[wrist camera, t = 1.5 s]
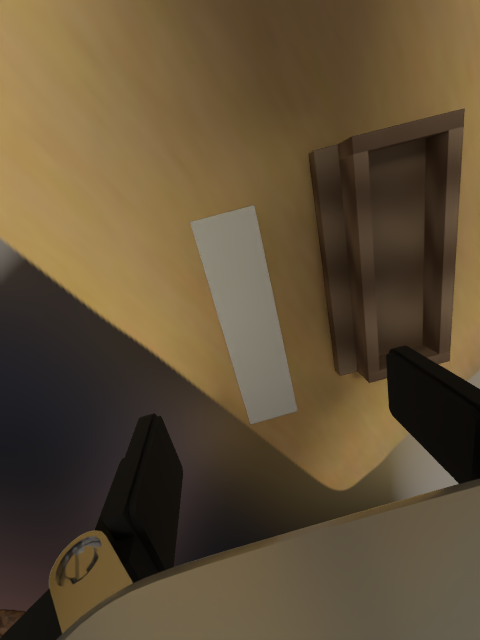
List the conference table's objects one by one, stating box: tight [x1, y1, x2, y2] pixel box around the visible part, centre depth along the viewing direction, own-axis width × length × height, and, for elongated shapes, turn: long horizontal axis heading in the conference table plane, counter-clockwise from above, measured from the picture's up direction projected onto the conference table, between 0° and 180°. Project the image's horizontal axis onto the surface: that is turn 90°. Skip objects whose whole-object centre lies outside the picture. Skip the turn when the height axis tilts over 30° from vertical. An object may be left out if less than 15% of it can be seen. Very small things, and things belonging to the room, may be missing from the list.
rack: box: [309, 108, 465, 383], centre depth 22 cm, size 19×11×3 cm, turn 14°
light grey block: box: [190, 205, 297, 425], centre depth 20 cm, size 14×4×7 cm, turn 14°
